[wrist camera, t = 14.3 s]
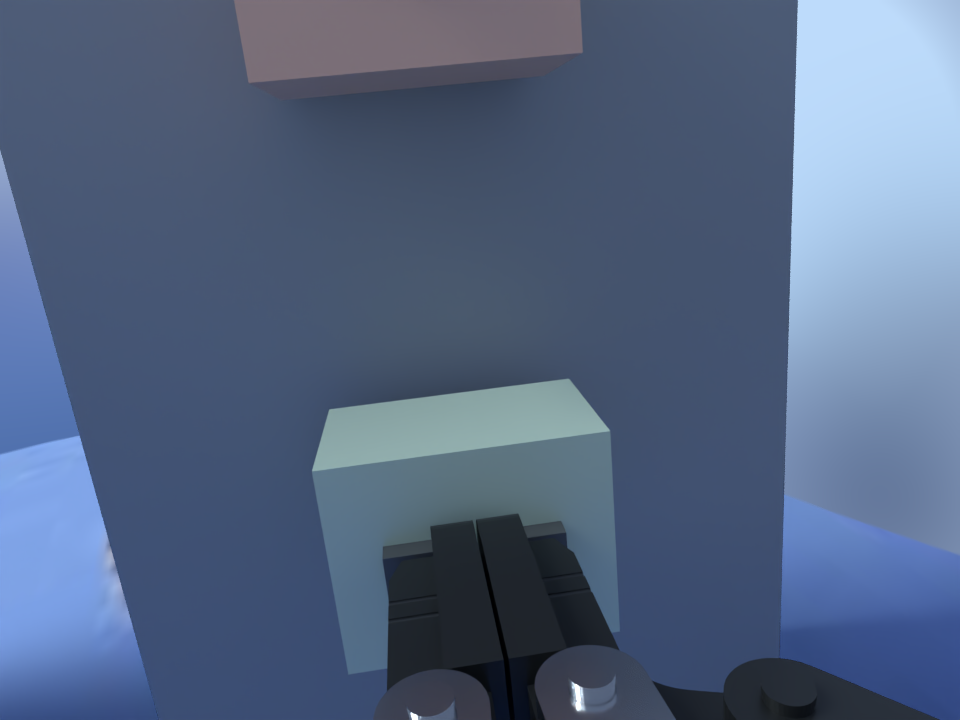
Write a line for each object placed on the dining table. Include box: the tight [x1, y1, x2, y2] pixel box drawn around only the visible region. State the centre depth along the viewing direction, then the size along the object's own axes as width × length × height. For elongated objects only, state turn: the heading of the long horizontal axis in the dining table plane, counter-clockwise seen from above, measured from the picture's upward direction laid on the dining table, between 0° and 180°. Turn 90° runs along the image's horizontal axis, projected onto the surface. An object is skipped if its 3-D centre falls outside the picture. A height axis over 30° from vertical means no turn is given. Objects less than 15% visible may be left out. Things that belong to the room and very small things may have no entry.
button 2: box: [312, 379, 620, 675], centre depth 13 cm, size 3×5×4 cm
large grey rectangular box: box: [0, 0, 798, 720], centre depth 19 cm, size 8×17×24 cm, turn 96°
